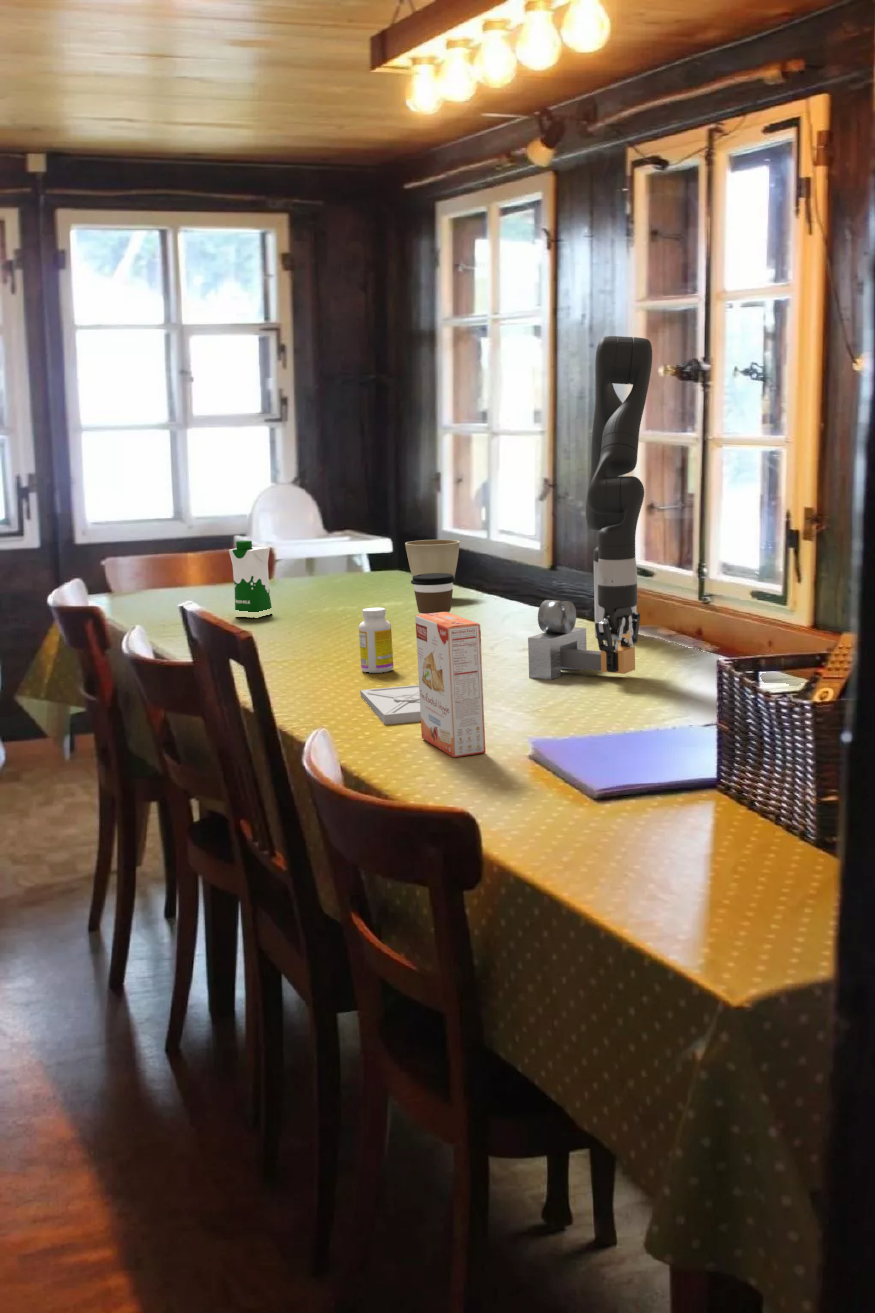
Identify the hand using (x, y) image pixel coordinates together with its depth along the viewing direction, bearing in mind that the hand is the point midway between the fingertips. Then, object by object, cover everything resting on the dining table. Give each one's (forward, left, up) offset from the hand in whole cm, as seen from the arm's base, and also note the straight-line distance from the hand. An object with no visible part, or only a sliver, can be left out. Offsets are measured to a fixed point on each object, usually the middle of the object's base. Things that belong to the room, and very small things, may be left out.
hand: (618, 668), depth 268 cm
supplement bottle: (+14, -49, -2) cm, 51 cm away
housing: (0, -14, -2) cm, 14 cm away
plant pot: (-71, -96, -2) cm, 119 cm away
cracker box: (+58, +1, -2) cm, 58 cm away
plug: (0, -7, 0) cm, 7 cm away
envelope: (+37, -23, -3) cm, 44 cm away
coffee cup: (-38, -72, -2) cm, 81 cm away
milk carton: (-30, -125, -2) cm, 128 cm away
